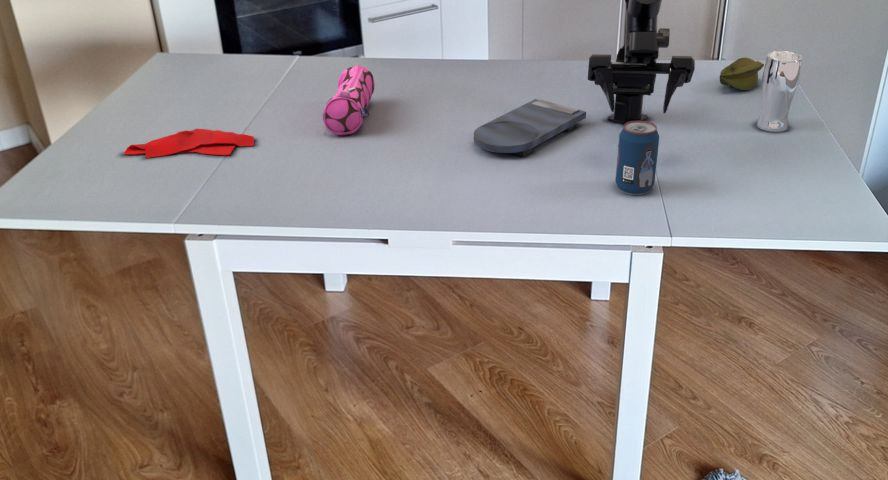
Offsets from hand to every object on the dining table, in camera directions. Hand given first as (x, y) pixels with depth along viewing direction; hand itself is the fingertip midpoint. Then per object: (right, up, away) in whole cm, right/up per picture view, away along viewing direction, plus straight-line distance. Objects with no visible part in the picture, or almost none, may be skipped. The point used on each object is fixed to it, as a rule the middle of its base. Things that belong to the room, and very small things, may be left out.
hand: (638, 111), depth 163 cm
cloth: (-87, -3, +25) cm, 91 cm away
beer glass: (+33, +1, +25) cm, 41 cm away
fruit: (+33, +14, +46) cm, 58 cm away
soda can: (-1, -14, +1) cm, 14 cm away
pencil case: (-55, +4, +35) cm, 65 cm away
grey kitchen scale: (-18, -1, +23) cm, 30 cm away
